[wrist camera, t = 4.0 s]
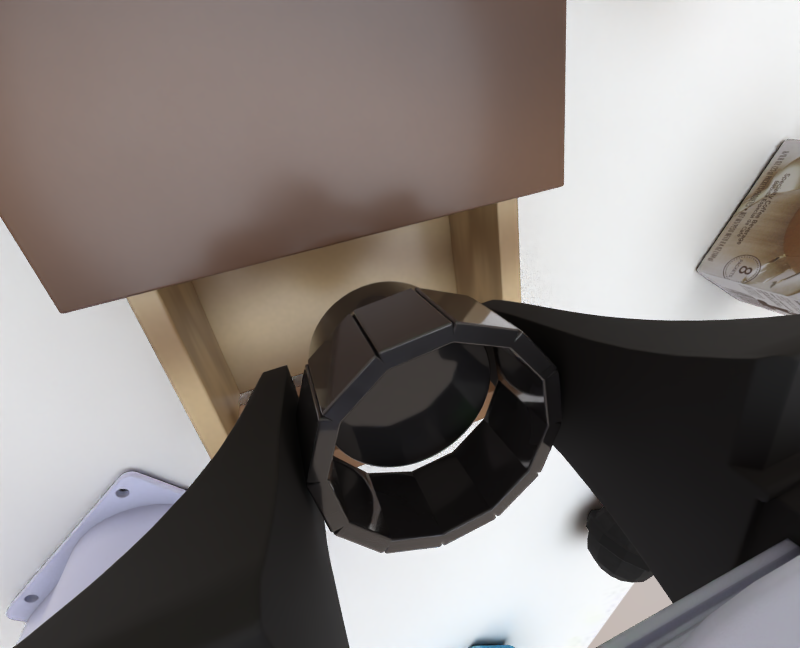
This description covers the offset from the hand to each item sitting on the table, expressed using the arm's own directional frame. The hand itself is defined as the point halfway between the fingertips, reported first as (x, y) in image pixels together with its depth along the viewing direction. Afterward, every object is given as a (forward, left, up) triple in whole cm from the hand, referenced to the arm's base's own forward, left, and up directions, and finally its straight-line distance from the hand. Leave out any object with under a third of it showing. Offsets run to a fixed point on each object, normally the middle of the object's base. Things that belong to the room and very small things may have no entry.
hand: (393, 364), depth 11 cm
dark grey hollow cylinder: (0, 0, -1) cm, 1 cm away
